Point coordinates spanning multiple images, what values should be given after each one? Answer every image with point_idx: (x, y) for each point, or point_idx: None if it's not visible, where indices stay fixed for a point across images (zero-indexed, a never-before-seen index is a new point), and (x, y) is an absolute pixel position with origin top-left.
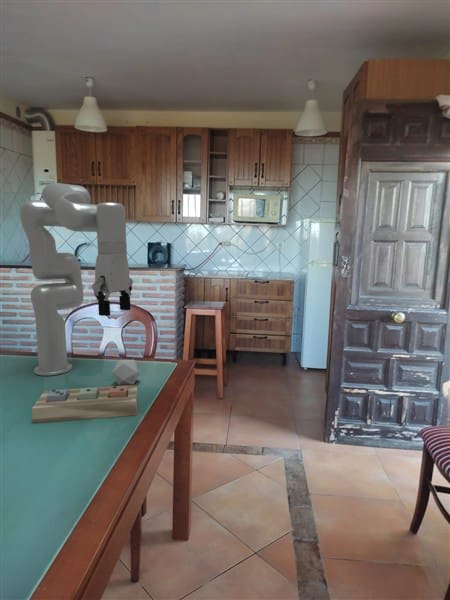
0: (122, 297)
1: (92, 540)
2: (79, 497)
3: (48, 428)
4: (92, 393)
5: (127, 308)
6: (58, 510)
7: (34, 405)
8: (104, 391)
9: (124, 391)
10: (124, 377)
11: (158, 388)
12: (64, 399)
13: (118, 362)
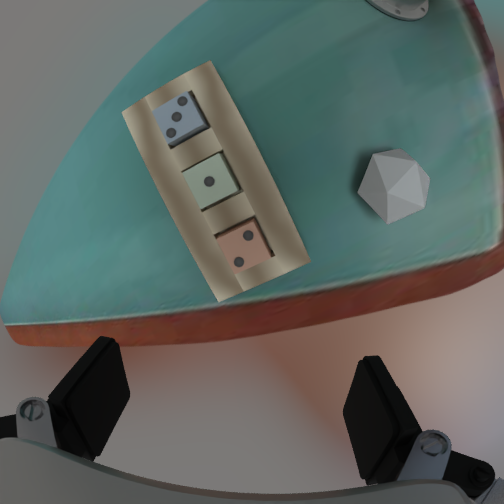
0: (381, 446)
1: (33, 341)
2: (47, 310)
3: (126, 160)
4: (197, 202)
5: (346, 411)
6: (32, 301)
7: (134, 105)
8: (248, 203)
9: (233, 271)
10: (362, 196)
11: (366, 271)
12: (170, 144)
13: (404, 163)
